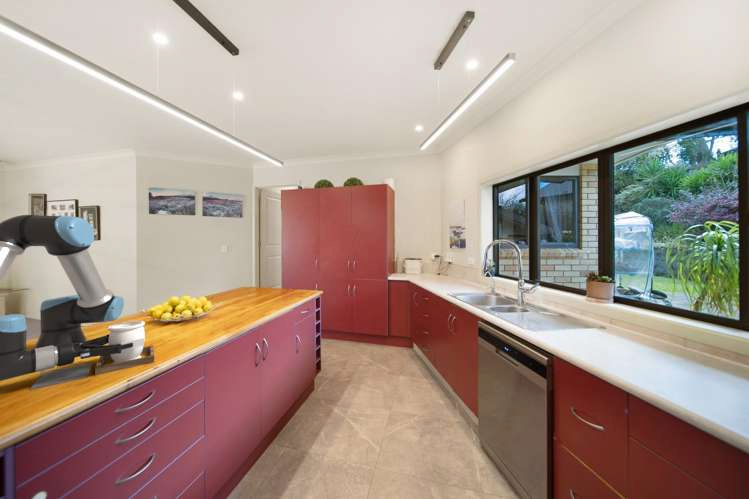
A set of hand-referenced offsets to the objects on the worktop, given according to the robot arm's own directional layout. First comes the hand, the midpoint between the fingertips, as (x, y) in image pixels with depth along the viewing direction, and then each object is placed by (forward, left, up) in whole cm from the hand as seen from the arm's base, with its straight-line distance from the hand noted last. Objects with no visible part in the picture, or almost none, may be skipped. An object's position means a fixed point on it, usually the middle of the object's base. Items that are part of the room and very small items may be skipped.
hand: (137, 338), depth 106 cm
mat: (+2, -19, -9) cm, 21 cm away
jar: (+1, -3, -9) cm, 9 cm away
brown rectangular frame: (+1, -3, -9) cm, 9 cm away
